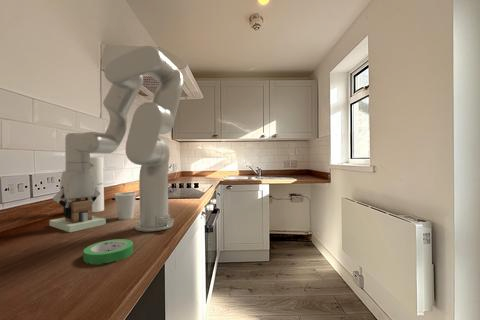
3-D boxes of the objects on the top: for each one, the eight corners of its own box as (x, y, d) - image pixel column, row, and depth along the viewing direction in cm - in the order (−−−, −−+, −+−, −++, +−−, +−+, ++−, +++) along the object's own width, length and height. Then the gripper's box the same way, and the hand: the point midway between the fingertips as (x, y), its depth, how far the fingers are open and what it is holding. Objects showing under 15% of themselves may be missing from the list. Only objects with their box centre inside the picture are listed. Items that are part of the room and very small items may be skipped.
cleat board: (105, 224, 95) (105, 210, 95) (69, 232, 85) (69, 217, 85) (84, 218, 104) (84, 206, 104) (49, 225, 94) (49, 212, 94)
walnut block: (92, 219, 94) (91, 196, 93) (74, 223, 89) (73, 198, 88) (82, 217, 97) (82, 195, 97) (65, 220, 92) (64, 197, 92)
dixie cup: (111, 218, 105) (110, 193, 104) (131, 214, 111) (131, 191, 110) (119, 221, 99) (119, 195, 99) (140, 217, 105) (140, 193, 105)
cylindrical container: (107, 210, 121) (106, 157, 121) (91, 212, 115) (90, 157, 115) (98, 208, 125) (98, 157, 125) (83, 211, 119) (82, 157, 119)
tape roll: (72, 264, 60) (71, 252, 60) (104, 247, 71) (104, 238, 71) (114, 267, 58) (114, 255, 58) (141, 249, 69) (141, 239, 69)
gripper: (96, 166, 102) (96, 211, 102) (45, 167, 88) (45, 219, 88) (107, 166, 98) (107, 213, 98) (55, 168, 84) (55, 223, 84)
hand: (78, 216), depth 93 cm, fingers closed on walnut block, 6 cm apart
